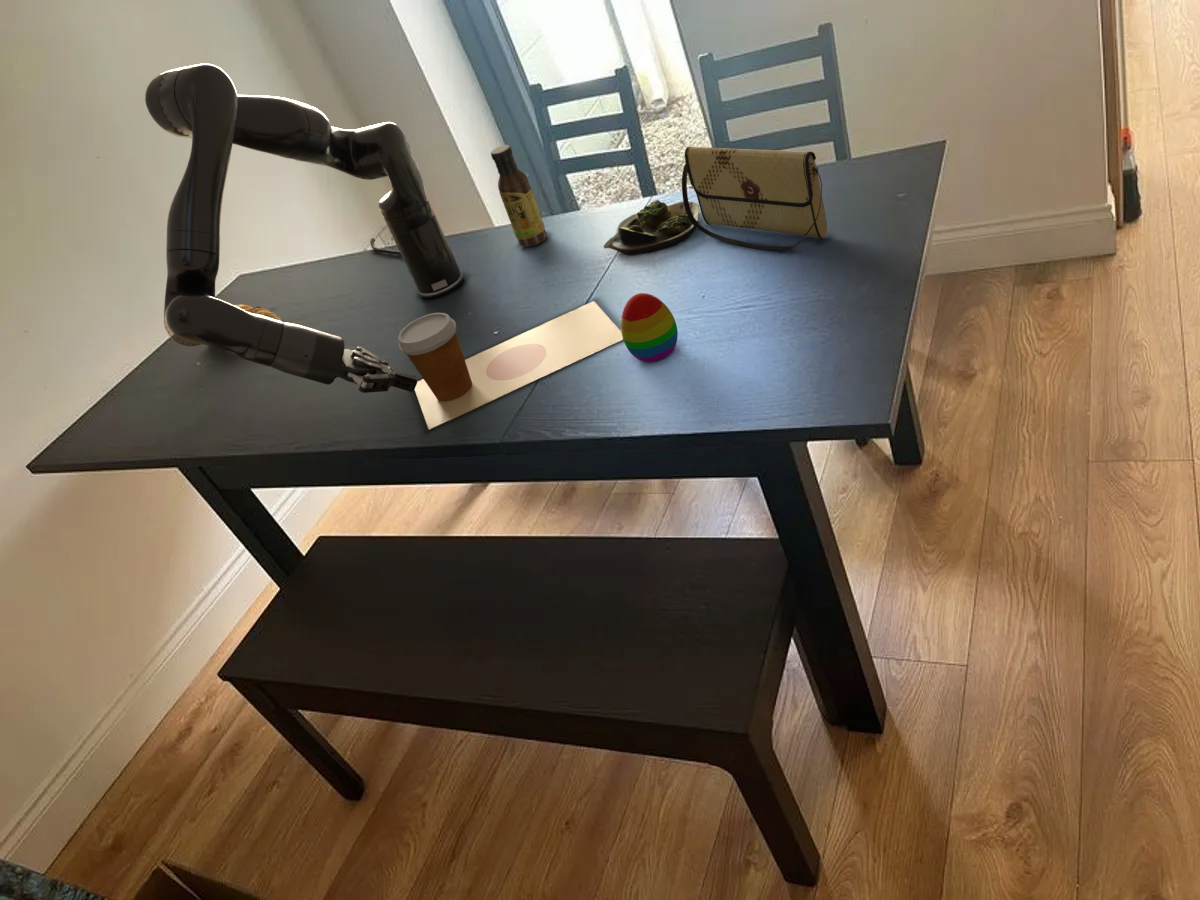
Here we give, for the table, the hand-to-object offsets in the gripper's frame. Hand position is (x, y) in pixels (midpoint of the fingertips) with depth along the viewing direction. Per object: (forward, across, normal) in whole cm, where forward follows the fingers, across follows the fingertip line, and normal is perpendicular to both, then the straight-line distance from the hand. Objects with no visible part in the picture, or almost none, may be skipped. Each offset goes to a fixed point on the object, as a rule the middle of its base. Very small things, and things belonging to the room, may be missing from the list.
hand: (414, 384), depth 150 cm
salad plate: (+39, +24, -33) cm, 56 cm away
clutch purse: (+48, +5, -42) cm, 64 cm away
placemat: (+14, 0, -9) cm, 17 cm away
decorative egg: (+28, -16, -22) cm, 39 cm away
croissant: (-19, +64, +25) cm, 71 cm away
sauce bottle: (+26, +46, -20) cm, 56 cm away
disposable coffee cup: (+6, 0, -1) cm, 7 cm away
